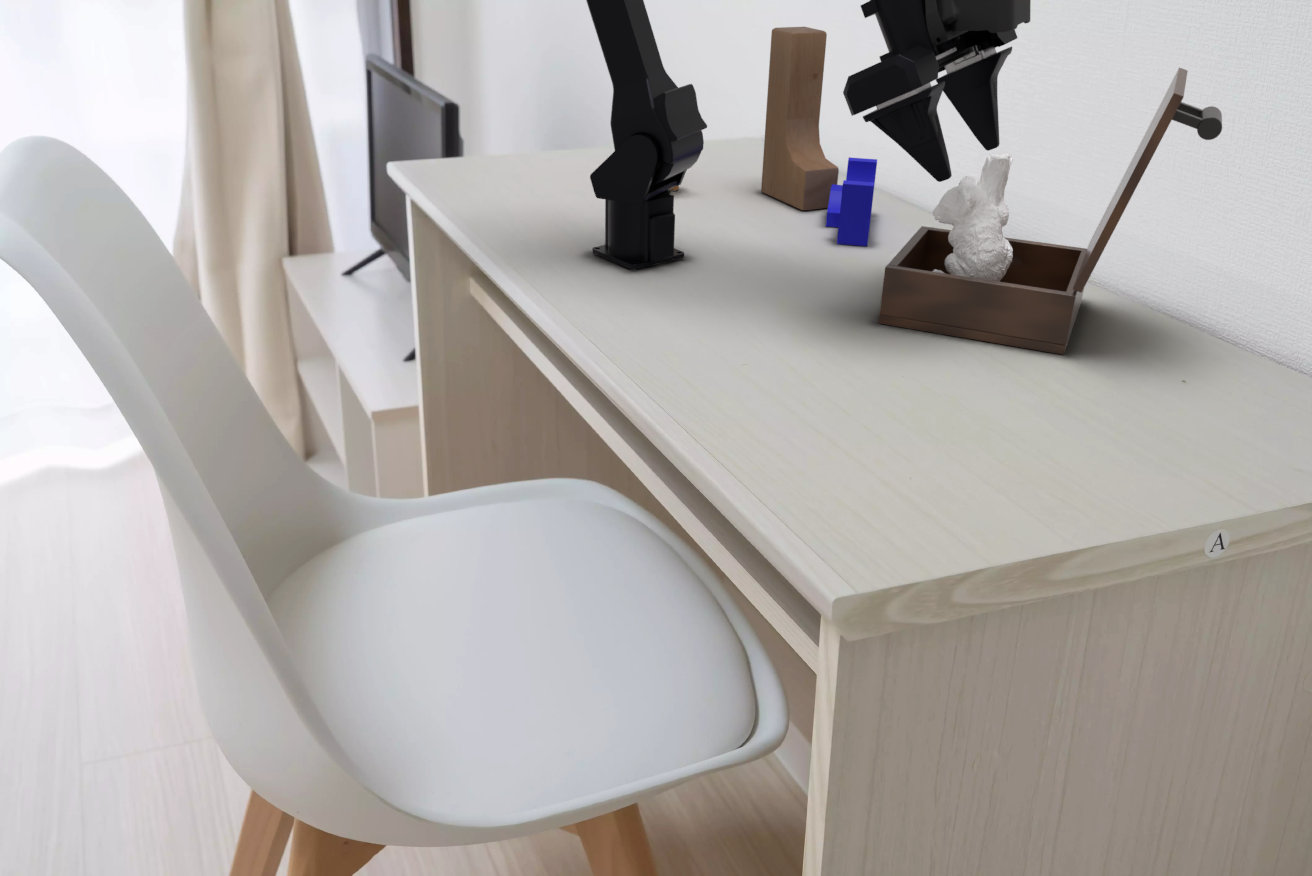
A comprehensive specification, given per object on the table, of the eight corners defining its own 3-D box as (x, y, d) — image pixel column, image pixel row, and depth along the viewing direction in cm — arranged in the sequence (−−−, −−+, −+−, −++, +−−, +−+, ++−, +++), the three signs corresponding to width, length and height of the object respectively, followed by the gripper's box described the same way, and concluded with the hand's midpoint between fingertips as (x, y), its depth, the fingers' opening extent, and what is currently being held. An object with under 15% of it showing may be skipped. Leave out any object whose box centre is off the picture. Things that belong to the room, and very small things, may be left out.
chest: (878, 323, 92) (885, 267, 90) (914, 277, 103) (921, 225, 101) (1063, 355, 87) (1075, 296, 85) (1081, 302, 98) (1092, 249, 96)
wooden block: (836, 208, 124) (853, 36, 116) (802, 211, 122) (816, 37, 114) (792, 189, 131) (805, 26, 123) (759, 192, 129) (770, 27, 121)
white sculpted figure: (957, 278, 100) (978, 142, 95) (1027, 296, 96) (1053, 156, 91) (907, 300, 95) (926, 157, 89) (980, 320, 91) (1004, 172, 85)
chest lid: (1173, 92, 76) (1236, 115, 75) (1179, 67, 88) (1233, 87, 87) (1072, 289, 84) (1127, 312, 83) (1089, 243, 96) (1138, 262, 95)
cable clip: (829, 211, 123) (834, 156, 120) (871, 215, 122) (877, 159, 119) (821, 242, 112) (827, 182, 109) (867, 246, 111) (874, 186, 109)
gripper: (939, -59, 74) (1017, 164, 78) (1044, -92, 87) (1107, 101, 90) (807, 10, 82) (883, 209, 86) (920, -29, 95) (983, 146, 98)
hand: (970, 163), depth 90 cm, fingers open, 9 cm apart
